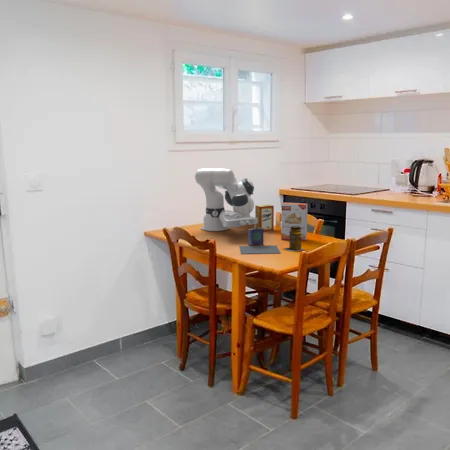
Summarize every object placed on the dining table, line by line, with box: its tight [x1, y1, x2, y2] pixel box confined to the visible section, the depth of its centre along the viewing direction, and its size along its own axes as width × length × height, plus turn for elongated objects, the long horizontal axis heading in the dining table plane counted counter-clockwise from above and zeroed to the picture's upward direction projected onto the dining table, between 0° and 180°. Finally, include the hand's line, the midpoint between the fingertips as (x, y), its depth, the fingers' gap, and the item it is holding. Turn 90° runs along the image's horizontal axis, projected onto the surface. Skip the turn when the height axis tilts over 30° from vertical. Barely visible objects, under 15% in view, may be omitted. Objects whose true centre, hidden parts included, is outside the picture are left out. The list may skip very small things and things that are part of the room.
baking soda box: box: [254, 204, 275, 232], centre depth 298 cm, size 10×6×16 cm
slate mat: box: [239, 244, 282, 255], centre depth 247 cm, size 17×20×1 cm
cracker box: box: [280, 202, 309, 242], centre depth 269 cm, size 14×6×21 cm, turn 70°
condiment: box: [283, 226, 305, 252], centre depth 246 cm, size 7×8×12 cm
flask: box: [247, 224, 264, 246], centre depth 257 cm, size 9×3×11 cm, turn 117°
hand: (247, 223), depth 266 cm, fingers closed
